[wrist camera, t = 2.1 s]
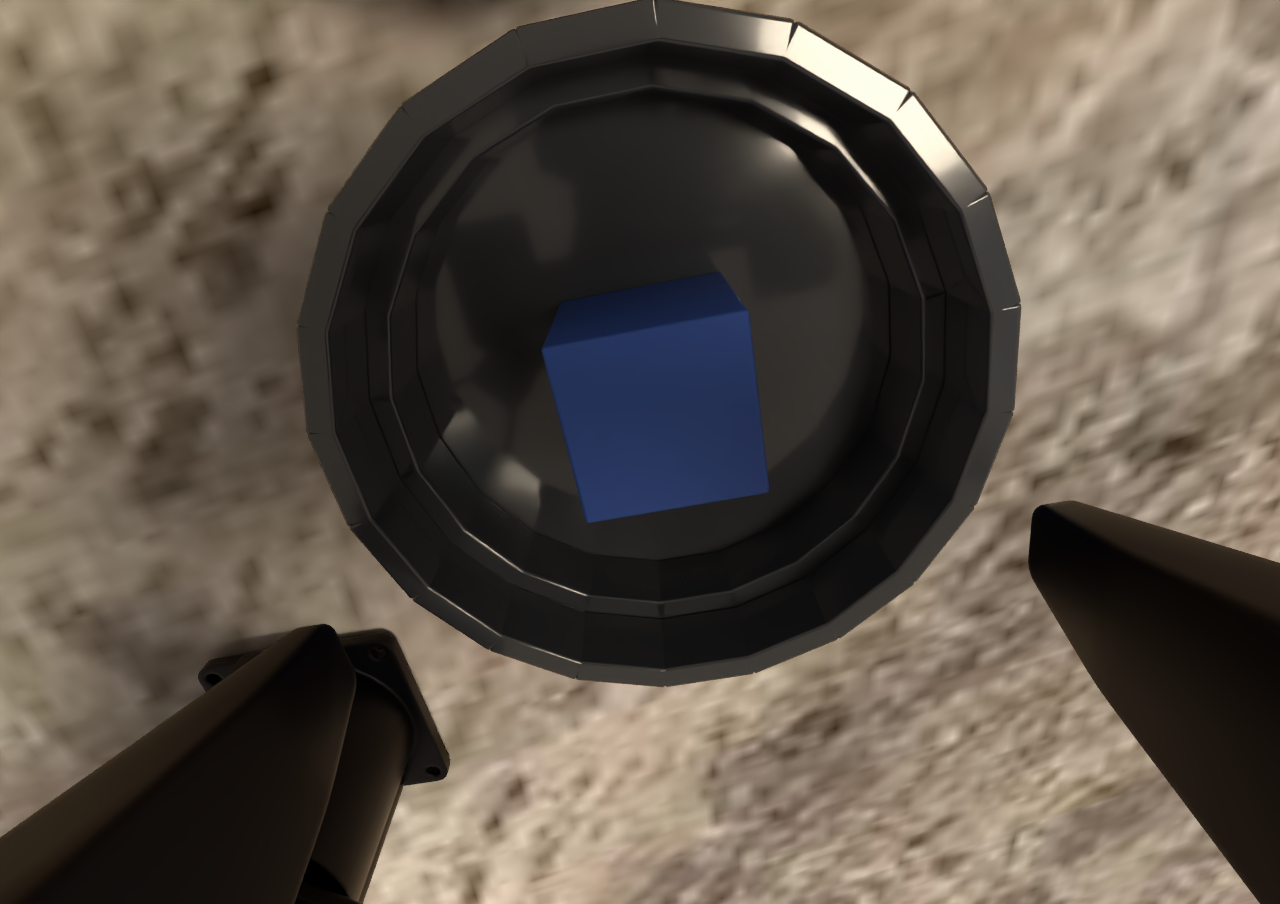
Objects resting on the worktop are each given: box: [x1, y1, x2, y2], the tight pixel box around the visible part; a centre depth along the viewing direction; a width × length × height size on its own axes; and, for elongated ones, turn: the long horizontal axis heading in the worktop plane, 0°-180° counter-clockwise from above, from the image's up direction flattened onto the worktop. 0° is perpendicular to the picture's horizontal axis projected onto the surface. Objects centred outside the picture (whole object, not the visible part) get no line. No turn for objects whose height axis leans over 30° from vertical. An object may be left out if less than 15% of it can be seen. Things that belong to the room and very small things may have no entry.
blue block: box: [542, 272, 769, 523], centre depth 15 cm, size 4×4×4 cm
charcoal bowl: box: [297, 0, 1021, 687], centre depth 15 cm, size 14×14×4 cm
